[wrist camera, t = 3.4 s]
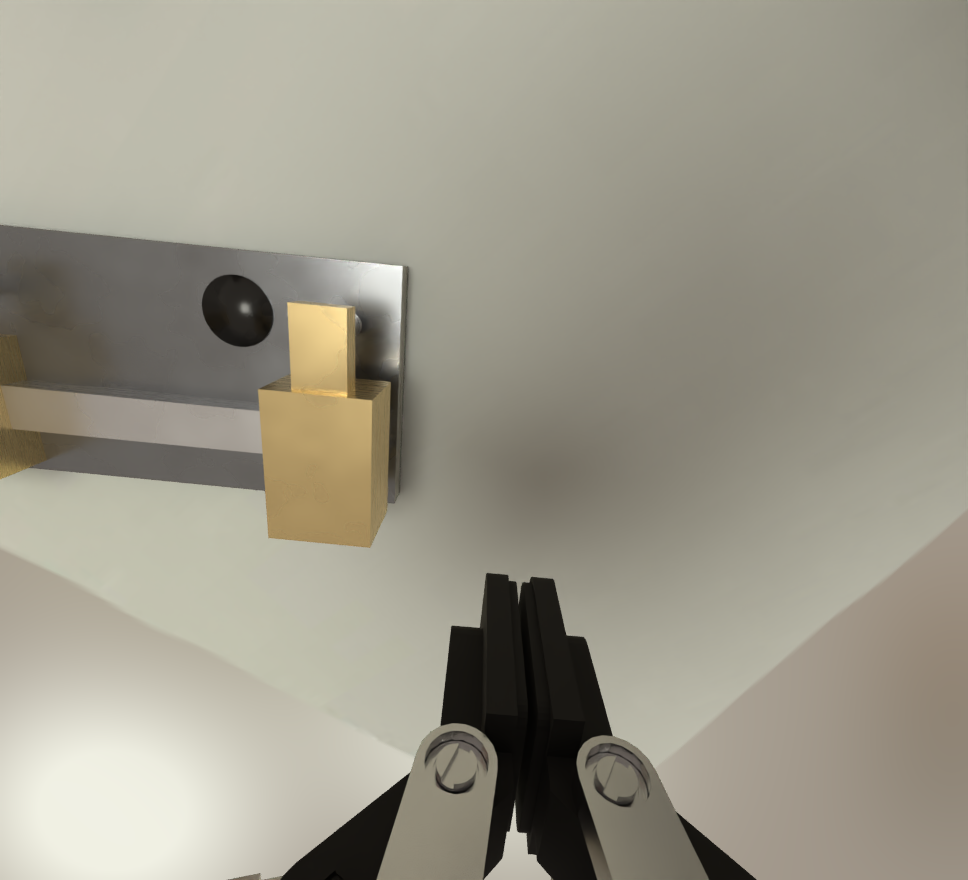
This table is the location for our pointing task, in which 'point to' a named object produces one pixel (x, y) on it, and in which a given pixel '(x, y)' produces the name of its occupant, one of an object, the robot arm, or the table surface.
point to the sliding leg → (325, 434)
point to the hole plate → (168, 352)
